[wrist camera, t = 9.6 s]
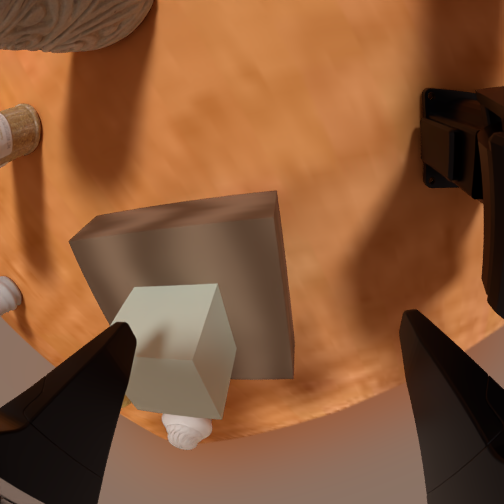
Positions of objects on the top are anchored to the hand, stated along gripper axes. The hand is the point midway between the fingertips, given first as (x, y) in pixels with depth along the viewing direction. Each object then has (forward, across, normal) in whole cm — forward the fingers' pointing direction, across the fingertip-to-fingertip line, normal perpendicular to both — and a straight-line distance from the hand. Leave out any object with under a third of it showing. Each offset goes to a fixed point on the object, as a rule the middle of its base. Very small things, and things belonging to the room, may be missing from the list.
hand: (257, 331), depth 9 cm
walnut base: (+12, +7, +7) cm, 16 cm away
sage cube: (+8, +7, +7) cm, 13 cm away
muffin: (+12, +13, +25) cm, 31 cm away
